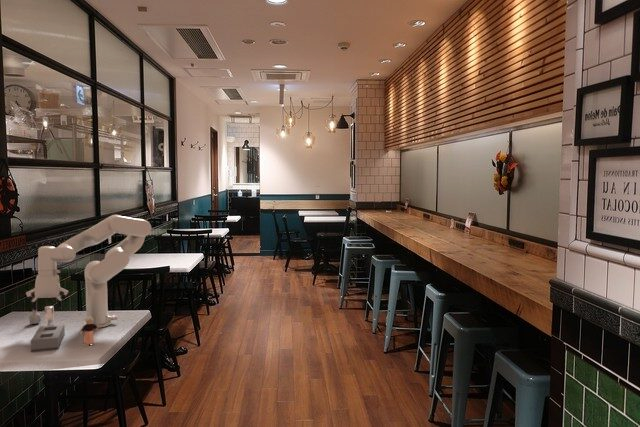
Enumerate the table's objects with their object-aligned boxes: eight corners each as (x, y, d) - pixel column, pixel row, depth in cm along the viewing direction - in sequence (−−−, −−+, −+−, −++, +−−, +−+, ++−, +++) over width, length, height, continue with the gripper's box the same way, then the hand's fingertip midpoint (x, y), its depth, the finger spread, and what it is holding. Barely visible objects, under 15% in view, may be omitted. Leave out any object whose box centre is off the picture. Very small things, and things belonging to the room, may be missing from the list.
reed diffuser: (43, 324, 241) (41, 284, 240) (26, 327, 237) (25, 286, 235) (38, 320, 249) (36, 281, 247) (22, 322, 244) (21, 283, 243)
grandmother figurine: (84, 348, 210) (83, 318, 209) (79, 346, 212) (78, 317, 211) (100, 342, 216) (100, 314, 215) (95, 341, 218) (94, 313, 217)
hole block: (64, 334, 226) (64, 324, 226) (58, 349, 208) (58, 337, 207) (40, 337, 223) (39, 326, 223) (31, 352, 204) (30, 340, 204)
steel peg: (54, 330, 233) (54, 305, 232) (53, 332, 229) (52, 307, 229) (46, 331, 232) (45, 306, 231) (45, 333, 228) (44, 308, 227)
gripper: (69, 270, 235) (69, 306, 236) (27, 272, 229) (27, 308, 230) (67, 273, 228) (67, 310, 229) (24, 275, 222) (24, 312, 223)
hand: (47, 309), depth 229 cm, fingers open, 9 cm apart
